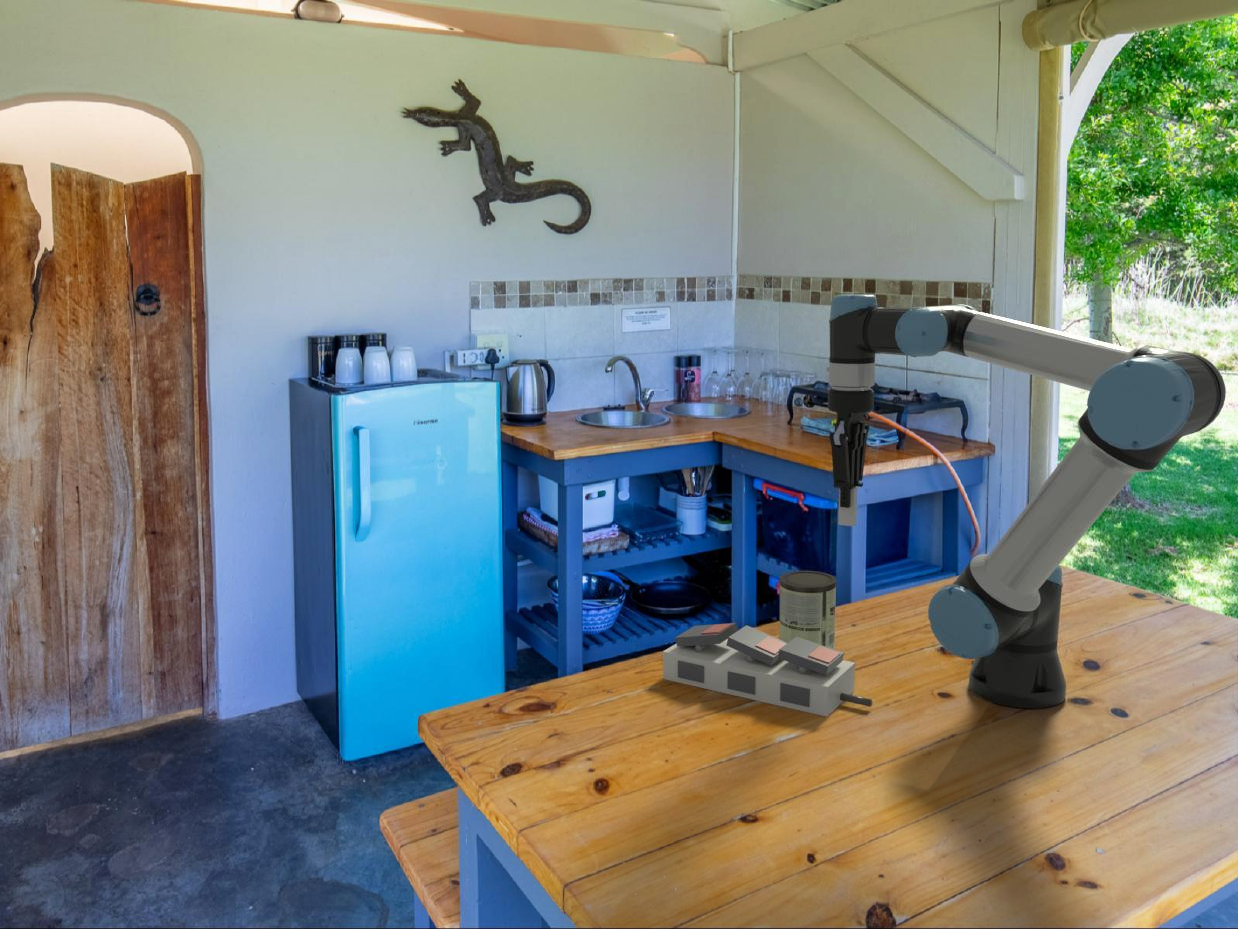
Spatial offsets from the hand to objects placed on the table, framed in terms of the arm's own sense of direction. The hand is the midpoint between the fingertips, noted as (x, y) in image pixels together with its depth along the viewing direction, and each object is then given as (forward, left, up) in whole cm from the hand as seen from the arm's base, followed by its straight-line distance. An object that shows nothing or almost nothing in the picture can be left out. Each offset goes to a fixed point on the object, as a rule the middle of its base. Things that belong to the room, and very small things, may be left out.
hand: (847, 524), depth 181 cm
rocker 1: (+20, +14, -20) cm, 31 cm away
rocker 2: (+10, +14, -20) cm, 26 cm away
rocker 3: (+1, +14, -20) cm, 24 cm away
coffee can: (+9, -5, -27) cm, 29 cm away
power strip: (+8, +14, -26) cm, 31 cm away
